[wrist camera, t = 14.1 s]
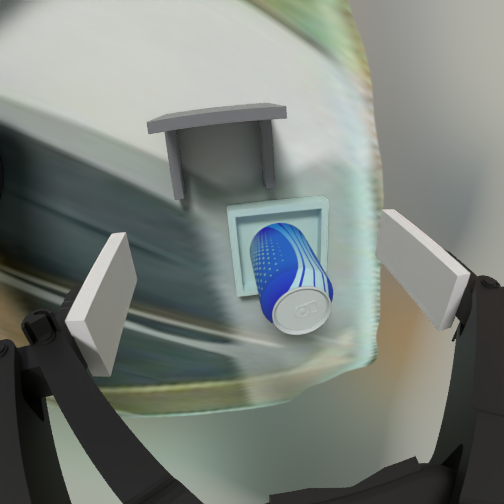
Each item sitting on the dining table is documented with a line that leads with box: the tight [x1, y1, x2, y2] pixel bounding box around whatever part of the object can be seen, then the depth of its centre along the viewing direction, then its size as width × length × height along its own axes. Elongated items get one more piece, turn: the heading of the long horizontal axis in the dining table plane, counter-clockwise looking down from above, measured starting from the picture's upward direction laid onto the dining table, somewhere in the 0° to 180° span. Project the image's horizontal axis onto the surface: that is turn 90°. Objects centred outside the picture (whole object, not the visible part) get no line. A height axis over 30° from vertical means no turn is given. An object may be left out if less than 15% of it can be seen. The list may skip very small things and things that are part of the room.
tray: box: [226, 195, 329, 297], centre depth 47 cm, size 14×14×2 cm
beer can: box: [250, 223, 333, 335], centre depth 41 cm, size 8×8×16 cm
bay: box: [147, 103, 287, 200], centre depth 35 cm, size 13×11×12 cm
